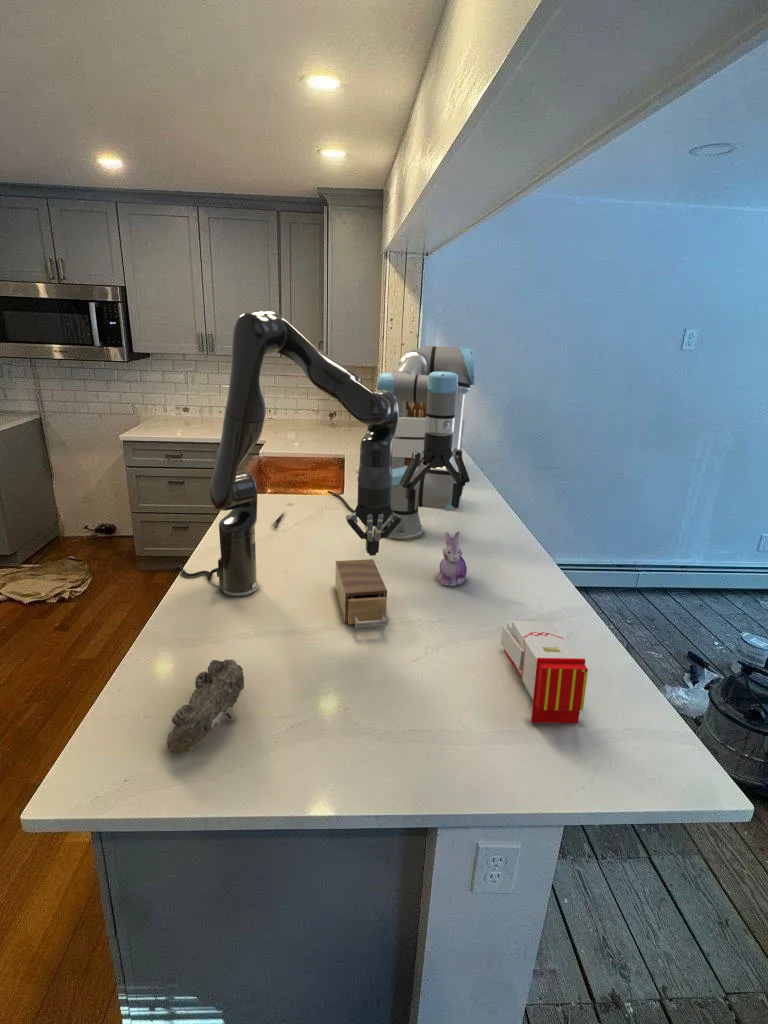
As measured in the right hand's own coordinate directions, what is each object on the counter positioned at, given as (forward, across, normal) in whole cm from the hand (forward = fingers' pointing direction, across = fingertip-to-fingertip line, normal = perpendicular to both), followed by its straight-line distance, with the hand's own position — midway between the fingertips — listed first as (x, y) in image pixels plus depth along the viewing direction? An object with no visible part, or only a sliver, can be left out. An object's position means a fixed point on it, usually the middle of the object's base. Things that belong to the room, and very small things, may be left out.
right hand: (433, 509), depth 155 cm
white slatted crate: (+23, +51, +107) cm, 121 cm away
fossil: (+24, -64, -36) cm, 77 cm away
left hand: (+2, -25, -18) cm, 31 cm away
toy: (+24, +2, -48) cm, 53 cm away
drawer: (+22, -23, -9) cm, 34 cm away
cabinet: (+23, -22, -3) cm, 32 cm away
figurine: (+23, +9, +1) cm, 25 cm away
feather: (+23, -26, +67) cm, 76 cm away
